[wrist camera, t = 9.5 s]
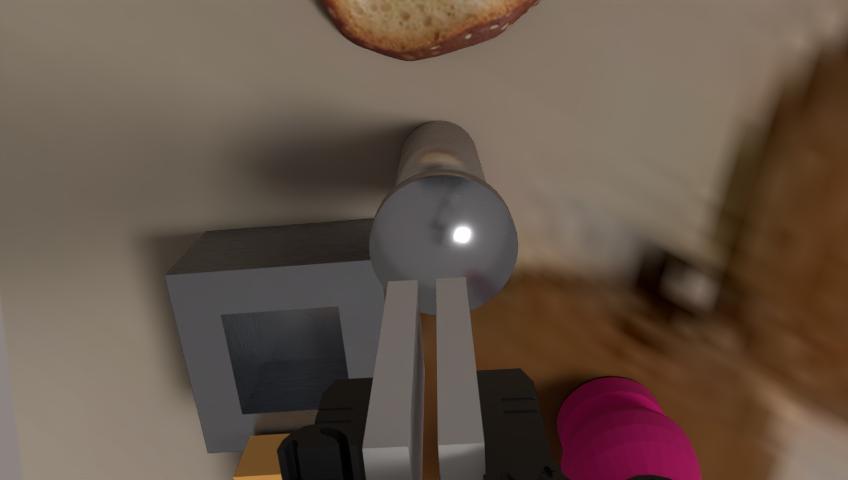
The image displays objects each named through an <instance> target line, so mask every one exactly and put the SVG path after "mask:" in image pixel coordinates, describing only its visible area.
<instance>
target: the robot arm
mask: <svg viewBox="0 0 848 480" xmlns="http://www.w3.org/2000/svg"><path fill="white" fill-rule="evenodd" d="M436 304H437V404H438V453H439V467H440V480H570V479H569V478H568V477H566V476H565V475H564V474H563V473H562V471H561V469H560V467H559V466H558V465H556V464H555V462H554V460H553V456H552V453H551V449H550V445H549V441H548V437H547V433H546V429H545V425H544V421H543V417H542V414H541V411H540V406H539V402H538V400H537V394H536V390H535V386H534V382H533V381H532V380H531V379H530V378H529V377H528V376H527V375H526V374H525V373H524V372H523V371H522V370H521V369H520V368H519V369H499V370H480V371H476V364H475V356H474V347H473V338H472V329H471V320H470V311H469V302H468V294H467V285H466V277H459V278H441V279H436ZM424 372H425V370H424V358H423V345H422V332H421V319H420V306H419V293H418V280H405V281H388V286H387V293H386V299H385V305H384V312H383V318H382V325H381V331H380V338H379V344H378V351H377V357H376V363H375V370H374V376H373V378H353V379H335V381H334V382H333V383H332V384H331V385H330V386H329V387H328V388H327V389H326V390H325V391H324V392H323V393H322V397H321V400H320V404H319V408H318V412H317V415H316V419H315V424H312V425H307V426H305V427H302V428H300V429H298V430H296V431H293V432H292V433H291V434H290V435H288V436H287V437H286V438H285V439H283V440H282V442H281V444H280V445H279V447H278V449H277V454H278V460H279V466H280V471H281V477H282V480H422V458H423V415H424ZM626 480H672V479H670V478H667V477H662V476H657V475H636V476H634V477H631V478H628V479H626Z"/></svg>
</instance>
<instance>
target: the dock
mask: <svg viewBox="0 0 848 480" xmlns="http://www.w3.org/2000/svg"><path fill="white" fill-rule="evenodd" d="M373 222H374V219H364V220H351V221H338V222H325V223H312V224H299V225H286V226H273V227H260V228H247V229H234V230H221V231H208V232H206V233H205V234H204V235H203V236H202V237H201V238H200V239H199V240H198V241H197V242H196V243H195V244H194V245H193V246H192V247H191V248H190V249H189V251H188V252H187V253H186V254H185V255H184V256H183V257H182V258H181V259H180V260H179V261H178V262H177V263H176V264H175V265H174V266H173V267H172V268H171V269H170V270H169V271H168V272H167V273H166V274H165V275H164V276H165V280H166V284H167V288H168V292H169V296H170V300H171V304H172V308H173V312H174V317H175V321H176V325H177V329H178V333H179V337H180V341H181V345H182V349H183V353H184V358H185V362H186V366H187V370H188V374H189V378H190V382H191V386H192V390H193V394H194V399H195V403H196V407H197V411H198V415H199V419H200V423H201V427H202V431H203V435H204V440H205V444H206V448H207V452H208V453H219V452H235V451H244V450H245V448H246V445H247V443H248V440H249V438H250V436H258V435H273V434H289V433H292V432H293V431H296V430H298V429H300V428H302V427H305V426H307V425H312V424H315V419H316V415H317V412H318V408H319V404H320V400H321V397H322V393H323V392H324V391H325V390H326V389H327V388H328V387H329V386H330V385H331V384H332V383H333V382H334V381H335V379H353V378H373V376H374V370H375V363H376V357H377V351H378V344H379V338H380V331H381V325H382V318H383V312H384V305H385V299H386V293H387V291H386V290H385V288H384V287H383V286H382V284H381V283H380V281H379V280H378V278H377V276H376V274H375V272H374V269H373V267H372V264H371V259H370V252H369V242H370V234H371V230H372V226H373Z"/></svg>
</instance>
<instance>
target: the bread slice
mask: <svg viewBox="0 0 848 480" xmlns="http://www.w3.org/2000/svg"><path fill="white" fill-rule="evenodd" d="M540 1H541V0H321V2H322V4H323V5H324V7H325V9H326V11H327V12H328V14H329V15H330V17H331V18H332V20H333V21H334V23H335V24H336V26H337V27H338V29H339V30H340V32H341V33H342V34H343V35H344V36H345V37H346V38H347V39H348V40H350V41H351V42H353V43H354V44H356V45H358V46H360V47H363V48H366V49H369V50H372V51H375V52H377V53H380V54H383V55H386V56H389V57H392V58H396V59H400V60H405V61H415V60H421V59H426V58H431V57H436V56H440V55H443V54H446V53H450V52H453V51H456V50H459V49H462V48H465V47H469V46H473V45H476V44H479V43H482V42H484V41H487V40H490V39H492V38H494V37H496V36H498V35H500V34H501V33H502V32H504V31H505V30H506V29H507V28H509V27H510V26H511V25H512V24H513V23H514V22H515V21H516V20H517V19H518V18H520V17H521V16H522V15H523V14H525V13H526V12H527V11H529V10H530V9H532V8H533V7H534V6H536V5H537V4H538V3H539V2H540Z"/></svg>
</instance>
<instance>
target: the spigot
mask: <svg viewBox="0 0 848 480" xmlns="http://www.w3.org/2000/svg"><path fill="white" fill-rule="evenodd" d="M369 252H370V259H371V264H372V267H373V269H374V272H375V274H376V276H377V278H378V280H379V281H380V283H381V284H382V286H383V287H384V288H385V290H386V291H387V286H388V281H405V280H418V293H419V306H420V312H422V313H426V314H432V315H437V304H436V279H441V278H459V277H466V285H467V294H468V302H469V311H470V310H473V309H475V308H477V307H479V306H481V305H483V304H485V303H486V302H488V301H489V300H490V299H492V298H493V297H494V296H495V295H496V294H497V293H498V292H499V291H500V290H501V289H502V288H503V287H504V285H505V284H506V282H507V281H508V279H509V278H510V276H511V274H512V271H513V269H514V266H515V263H516V259H517V253H518V239H517V232H516V228H515V225H514V222H513V219H512V217H511V214H510V212H509V209H508V207H507V205H506V204H505V202H504V200H503V199H502V197H501V196H500V195H499V194H498V192H497V191H496V190H495V189H493V188H492V187H491V186H490V185H489V184H488V183H486V180H485V177H484V173H483V170H482V167H481V163H480V160H479V157H478V153H477V150H476V146H475V144H474V142H473V140H472V138H471V137H470V135H469V134H468V133H467V132H466V131H465V130H464V129H462V128H461V127H460V126H458V125H456V124H453V123H451V122H447V121H432V122H428V123H425V124H423V125H421V126H419V127H418V128H416V129H415V130H414V131H413V132H412V133H411V134H410V135H409V136H408V138H407V139H406V141H405V143H404V145H403V148H402V153H401V158H400V163H399V168H398V173H397V178H396V183H395V187H394V188H393V189H392V190H391V191H390V192H389V193H388V194H387V196H386V197H385V198H384V200H383V201H382V203H381V204H380V206H379V208H378V210H377V213H376V215H375V218H374V222H373V226H372V230H371V234H370V242H369Z"/></svg>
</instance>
